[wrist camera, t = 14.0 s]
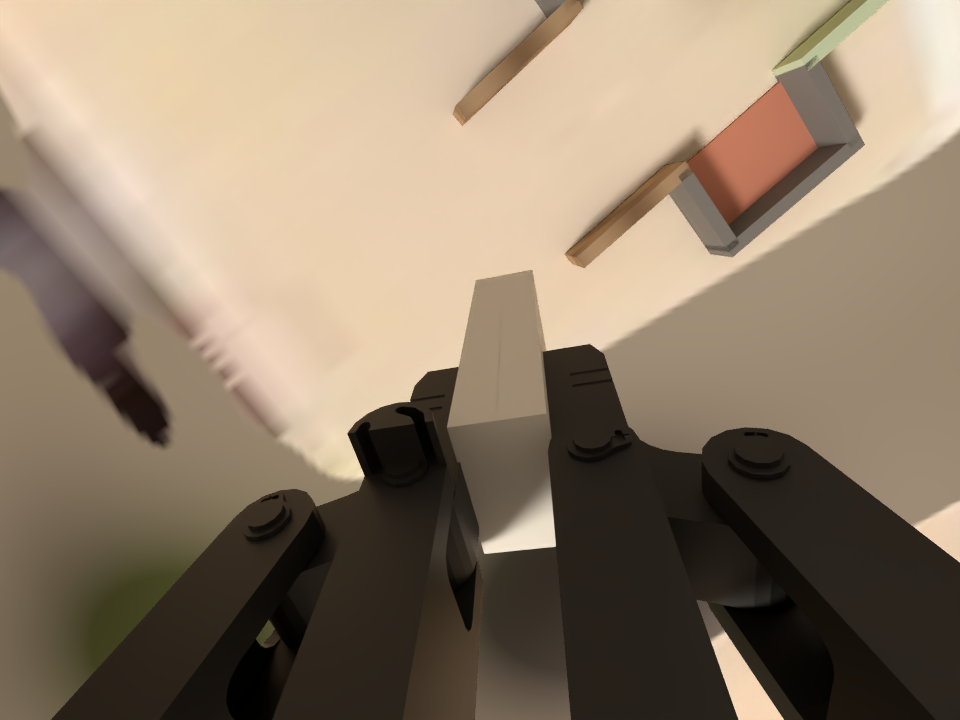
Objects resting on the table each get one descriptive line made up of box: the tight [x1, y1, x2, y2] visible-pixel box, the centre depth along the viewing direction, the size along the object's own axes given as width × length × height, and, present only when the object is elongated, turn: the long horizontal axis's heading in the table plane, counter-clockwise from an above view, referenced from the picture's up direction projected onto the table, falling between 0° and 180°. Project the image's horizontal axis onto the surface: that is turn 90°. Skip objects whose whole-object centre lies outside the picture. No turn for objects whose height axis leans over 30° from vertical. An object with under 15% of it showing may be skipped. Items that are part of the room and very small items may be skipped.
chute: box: [453, 0, 693, 268], centre depth 36 cm, size 10×14×3 cm
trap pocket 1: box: [669, 58, 865, 257], centre depth 38 cm, size 12×8×3 cm, turn 131°
